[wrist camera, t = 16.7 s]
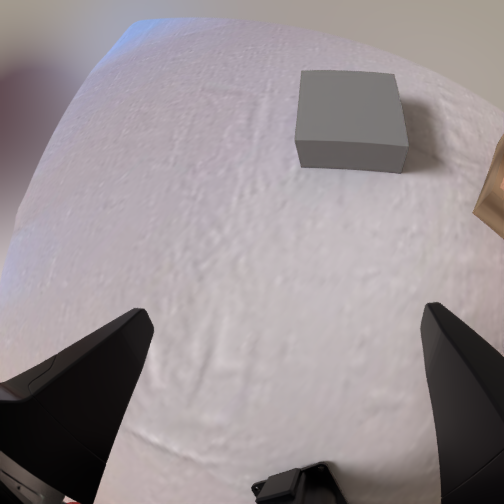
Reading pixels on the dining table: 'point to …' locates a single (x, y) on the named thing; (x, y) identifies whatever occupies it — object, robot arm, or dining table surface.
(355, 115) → the charcoal plinth
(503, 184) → the terracotta block
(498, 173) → the walnut block
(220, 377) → the dining table surface
